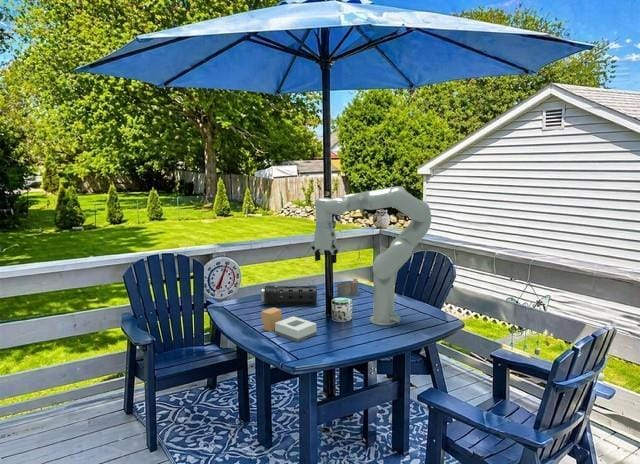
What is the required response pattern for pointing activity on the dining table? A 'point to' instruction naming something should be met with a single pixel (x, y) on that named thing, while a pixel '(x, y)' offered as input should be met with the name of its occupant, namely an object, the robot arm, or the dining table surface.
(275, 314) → the plug
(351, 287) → the ruin model on sheet
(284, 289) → the muzzle brake
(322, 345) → the dining table surface
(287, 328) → the socket block
